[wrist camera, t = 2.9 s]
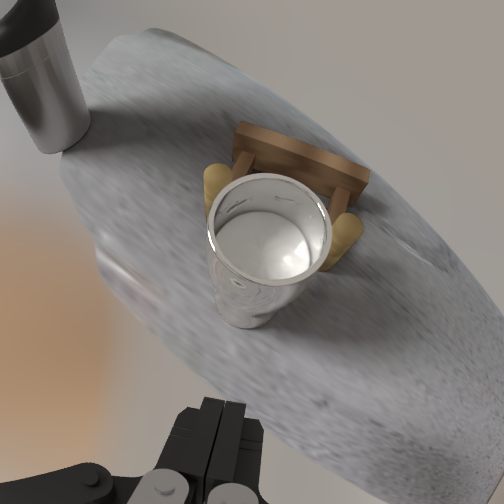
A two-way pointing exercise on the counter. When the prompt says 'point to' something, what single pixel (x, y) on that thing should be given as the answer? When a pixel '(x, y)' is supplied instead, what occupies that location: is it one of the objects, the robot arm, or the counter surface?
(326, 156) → the holder
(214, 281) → the silver metal cup
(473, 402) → the counter surface
